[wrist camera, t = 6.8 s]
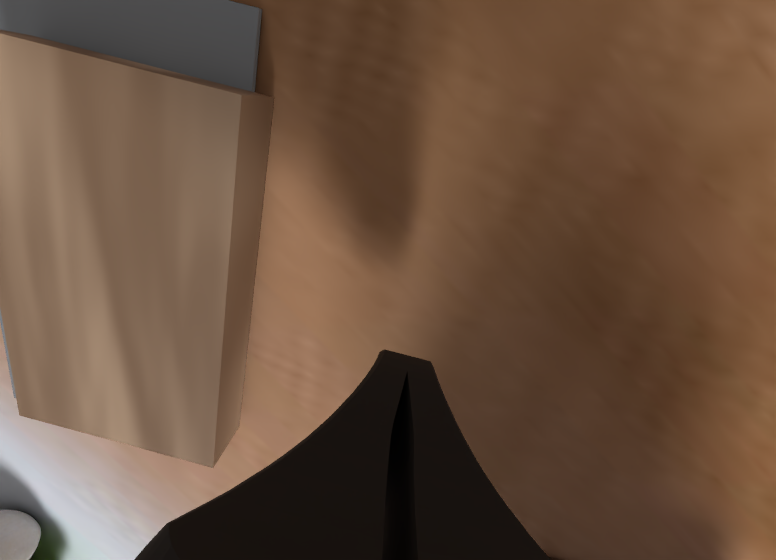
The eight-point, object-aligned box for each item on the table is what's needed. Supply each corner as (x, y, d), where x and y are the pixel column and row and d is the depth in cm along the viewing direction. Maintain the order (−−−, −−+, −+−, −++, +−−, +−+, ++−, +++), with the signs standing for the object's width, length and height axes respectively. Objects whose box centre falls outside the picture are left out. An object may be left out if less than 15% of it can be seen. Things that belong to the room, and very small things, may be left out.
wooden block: (241, 94, 9) (-53, 20, 9) (212, 467, 14) (19, 415, 14) (277, 97, 11) (36, 36, 11) (242, 422, 16) (72, 376, 16)
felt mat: (261, 9, 11) (258, 7, 10) (223, 450, 17) (220, 453, 17) (-65, -73, 11) (-73, -76, 11) (18, 394, 17) (14, 397, 17)
